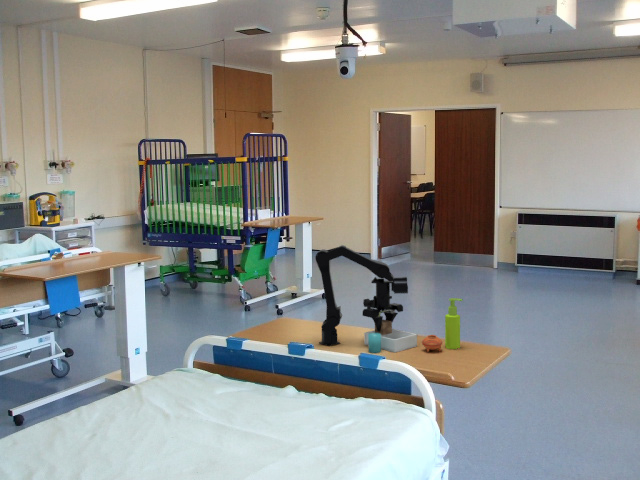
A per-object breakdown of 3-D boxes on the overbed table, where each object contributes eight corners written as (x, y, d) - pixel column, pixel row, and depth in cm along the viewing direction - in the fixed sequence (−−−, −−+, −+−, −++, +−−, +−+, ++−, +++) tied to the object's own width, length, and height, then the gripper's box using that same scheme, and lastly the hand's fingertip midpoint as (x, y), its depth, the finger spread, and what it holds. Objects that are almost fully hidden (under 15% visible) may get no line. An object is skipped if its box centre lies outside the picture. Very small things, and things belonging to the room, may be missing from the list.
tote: (364, 344, 268) (364, 332, 268) (386, 338, 277) (386, 327, 276) (394, 352, 255) (394, 340, 255) (417, 346, 264) (416, 334, 263)
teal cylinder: (366, 351, 258) (365, 334, 257) (375, 349, 261) (374, 332, 260) (374, 353, 254) (374, 336, 253) (383, 351, 257) (383, 334, 256)
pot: (443, 347, 260) (443, 332, 258) (440, 357, 253) (440, 341, 251) (424, 345, 262) (423, 330, 260) (420, 355, 256) (420, 339, 253)
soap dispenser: (462, 349, 257) (462, 300, 255) (445, 348, 259) (445, 299, 257) (462, 345, 263) (462, 297, 261) (445, 345, 264) (445, 297, 262)
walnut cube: (383, 335, 265) (383, 323, 265) (374, 333, 269) (374, 321, 268) (391, 333, 268) (391, 321, 268) (383, 331, 272) (383, 319, 272)
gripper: (384, 288, 279) (385, 323, 281) (353, 294, 267) (353, 331, 269) (403, 291, 271) (404, 328, 272) (371, 297, 259) (372, 335, 260)
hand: (383, 330), depth 268 cm, fingers closed on walnut cube, 5 cm apart
